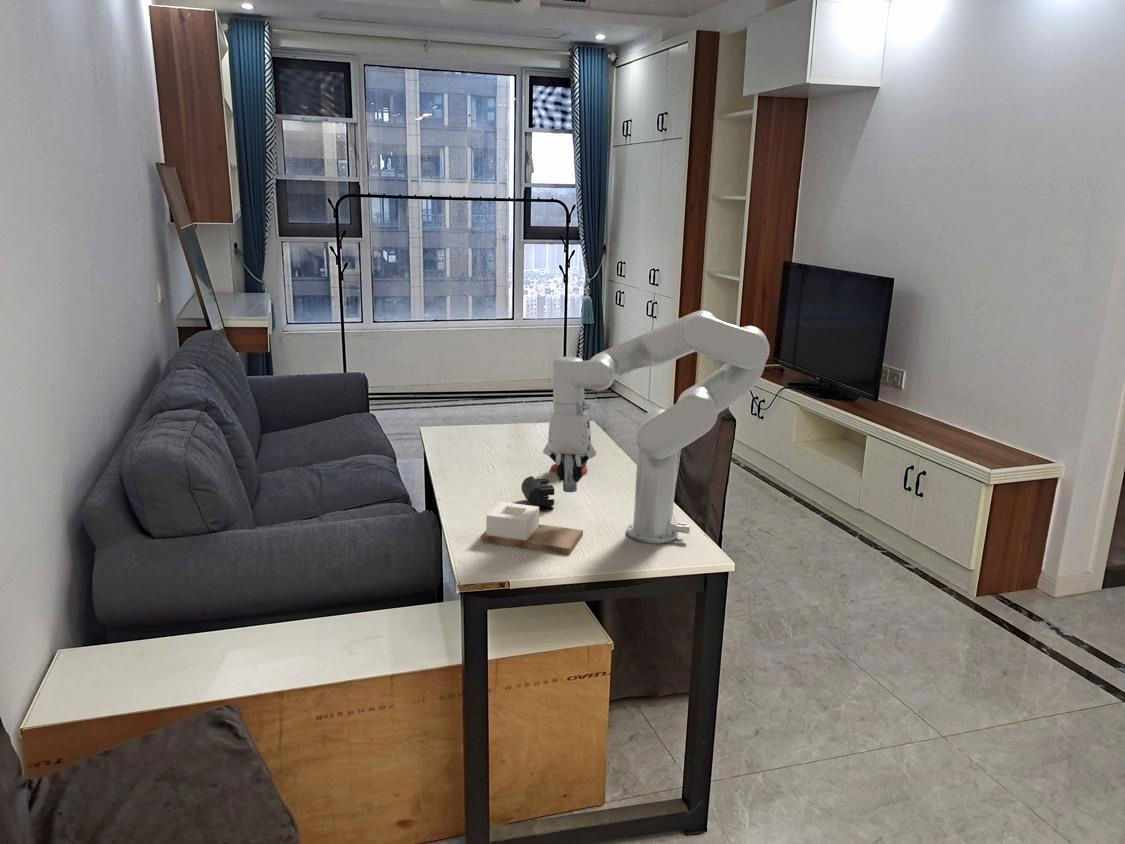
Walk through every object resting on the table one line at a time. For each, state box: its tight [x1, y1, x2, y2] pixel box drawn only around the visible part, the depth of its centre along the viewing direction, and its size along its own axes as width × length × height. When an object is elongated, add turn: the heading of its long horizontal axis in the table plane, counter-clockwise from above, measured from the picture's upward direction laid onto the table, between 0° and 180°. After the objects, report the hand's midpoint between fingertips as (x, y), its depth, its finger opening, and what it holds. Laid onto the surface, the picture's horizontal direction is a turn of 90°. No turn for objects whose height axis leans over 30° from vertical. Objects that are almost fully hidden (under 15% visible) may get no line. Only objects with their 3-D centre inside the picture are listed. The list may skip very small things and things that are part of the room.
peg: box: [562, 454, 578, 493], centre depth 206 cm, size 3×3×10 cm
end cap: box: [521, 475, 555, 512], centre depth 223 cm, size 10×7×7 cm
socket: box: [485, 501, 540, 541], centre depth 201 cm, size 10×10×5 cm
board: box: [480, 523, 584, 555], centre depth 201 cm, size 22×12×2 cm, turn 74°
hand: (569, 479), depth 206 cm, fingers closed on peg, 3 cm apart
